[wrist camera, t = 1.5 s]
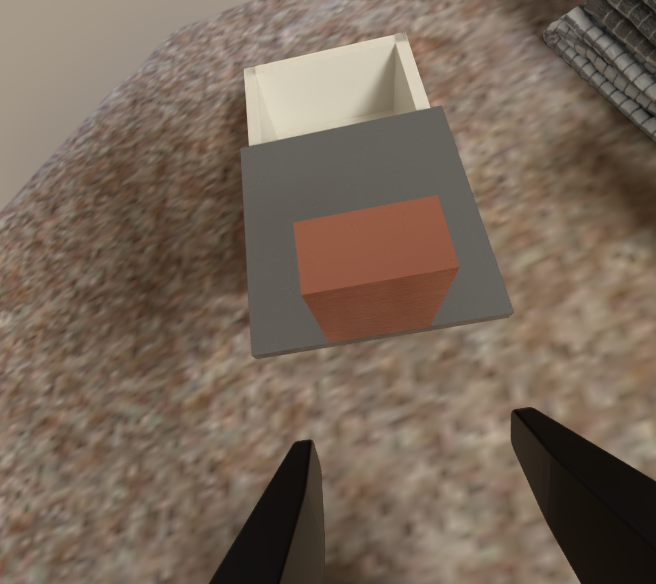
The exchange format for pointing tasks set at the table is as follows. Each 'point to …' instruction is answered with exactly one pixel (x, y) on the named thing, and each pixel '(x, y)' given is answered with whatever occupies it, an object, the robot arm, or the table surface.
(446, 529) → the table surface
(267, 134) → the cream open box
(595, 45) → the towel
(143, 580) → the table surface
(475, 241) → the lid
